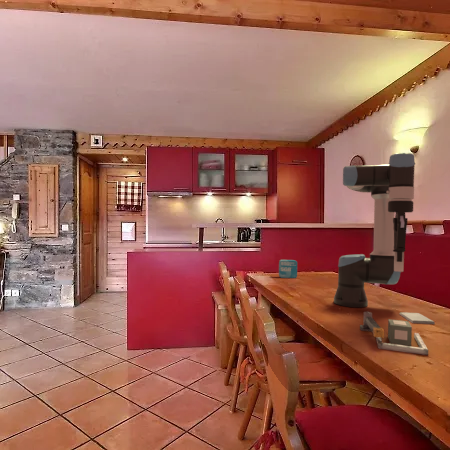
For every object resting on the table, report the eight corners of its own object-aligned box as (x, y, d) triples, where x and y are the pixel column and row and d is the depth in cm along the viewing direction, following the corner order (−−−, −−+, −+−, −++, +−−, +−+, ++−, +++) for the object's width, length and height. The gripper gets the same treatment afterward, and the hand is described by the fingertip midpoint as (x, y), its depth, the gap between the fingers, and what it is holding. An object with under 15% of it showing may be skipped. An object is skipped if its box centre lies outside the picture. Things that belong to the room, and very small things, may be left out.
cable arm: (364, 322, 121) (364, 315, 121) (373, 323, 121) (373, 316, 121) (374, 336, 106) (374, 329, 106) (384, 337, 106) (384, 330, 106)
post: (359, 326, 126) (360, 310, 126) (374, 328, 125) (375, 311, 125) (360, 330, 122) (360, 313, 122) (375, 332, 120) (375, 315, 120)
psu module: (387, 336, 116) (388, 318, 116) (407, 339, 114) (408, 320, 114) (390, 343, 109) (390, 324, 109) (411, 346, 107) (411, 326, 107)
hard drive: (434, 321, 131) (419, 312, 144) (412, 320, 132) (399, 311, 144) (434, 325, 131) (419, 316, 144) (412, 324, 132) (399, 315, 144)
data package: (279, 277, 233) (279, 260, 233) (278, 276, 238) (279, 259, 238) (297, 278, 233) (297, 260, 233) (296, 277, 237) (296, 260, 237)
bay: (374, 332, 120) (375, 328, 120) (418, 337, 115) (418, 333, 115) (378, 348, 104) (378, 343, 104) (428, 355, 100) (428, 350, 100)
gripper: (386, 201, 121) (384, 267, 121) (390, 199, 108) (388, 273, 109) (410, 201, 118) (408, 269, 119) (416, 199, 106) (414, 275, 106)
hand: (398, 271), depth 114 cm, fingers closed
